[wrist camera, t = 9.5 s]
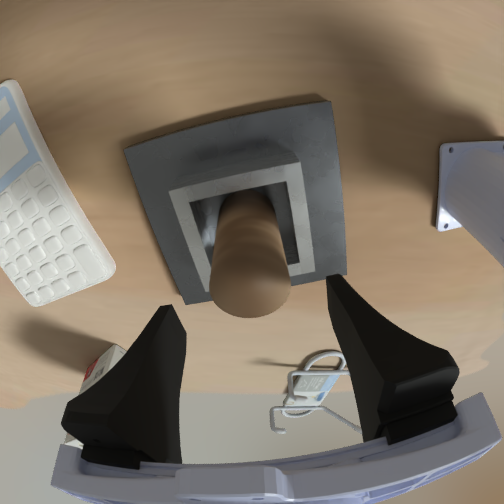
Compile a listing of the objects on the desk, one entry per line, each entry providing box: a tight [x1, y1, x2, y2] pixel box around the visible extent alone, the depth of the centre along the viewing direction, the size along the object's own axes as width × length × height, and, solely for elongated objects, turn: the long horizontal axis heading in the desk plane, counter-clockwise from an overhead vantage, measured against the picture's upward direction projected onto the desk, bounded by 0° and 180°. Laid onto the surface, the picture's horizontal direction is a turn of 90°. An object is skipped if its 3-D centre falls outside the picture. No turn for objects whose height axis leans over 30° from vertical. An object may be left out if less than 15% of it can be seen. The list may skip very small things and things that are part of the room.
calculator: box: [0, 79, 116, 307], centre depth 21 cm, size 13×20×2 cm, turn 21°
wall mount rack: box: [270, 351, 362, 434], centre depth 34 cm, size 16×14×6 cm
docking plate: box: [124, 100, 347, 305], centre depth 21 cm, size 14×14×4 cm
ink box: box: [64, 344, 127, 449], centre depth 28 cm, size 9×5×12 cm, turn 133°
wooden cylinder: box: [209, 190, 291, 318], centre depth 18 cm, size 4×4×8 cm
